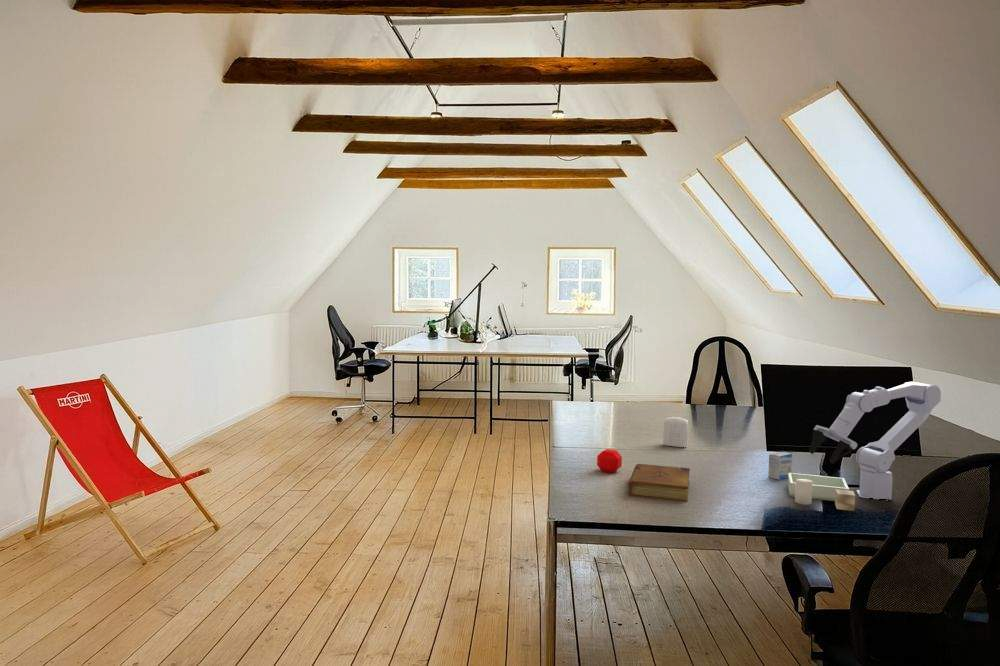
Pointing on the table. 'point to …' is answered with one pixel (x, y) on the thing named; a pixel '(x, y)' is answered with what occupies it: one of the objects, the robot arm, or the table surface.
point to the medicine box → (780, 465)
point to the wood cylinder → (803, 491)
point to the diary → (659, 482)
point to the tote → (818, 485)
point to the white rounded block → (676, 432)
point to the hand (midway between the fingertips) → (820, 457)
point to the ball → (609, 460)
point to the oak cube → (845, 500)
